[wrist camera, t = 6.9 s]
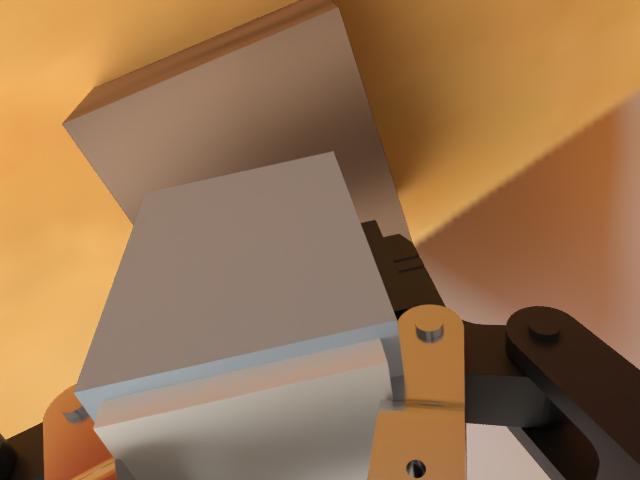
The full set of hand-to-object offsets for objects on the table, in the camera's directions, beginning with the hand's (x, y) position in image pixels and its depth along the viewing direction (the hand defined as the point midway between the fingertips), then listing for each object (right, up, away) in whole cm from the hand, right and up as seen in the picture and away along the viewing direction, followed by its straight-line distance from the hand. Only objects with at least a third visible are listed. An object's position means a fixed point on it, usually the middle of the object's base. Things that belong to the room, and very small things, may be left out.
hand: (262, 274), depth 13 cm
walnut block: (-1, +5, +7) cm, 9 cm away
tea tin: (0, +1, +1) cm, 1 cm away
